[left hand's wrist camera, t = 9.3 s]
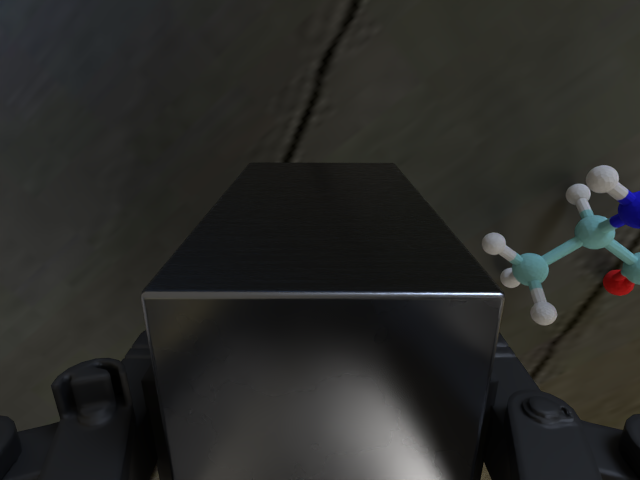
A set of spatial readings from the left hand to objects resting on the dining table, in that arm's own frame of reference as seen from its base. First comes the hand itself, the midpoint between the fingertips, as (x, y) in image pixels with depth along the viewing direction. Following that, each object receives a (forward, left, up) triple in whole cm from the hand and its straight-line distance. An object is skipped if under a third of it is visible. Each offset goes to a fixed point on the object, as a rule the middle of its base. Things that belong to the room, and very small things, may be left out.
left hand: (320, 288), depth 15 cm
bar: (-2, +7, -1) cm, 8 cm away
